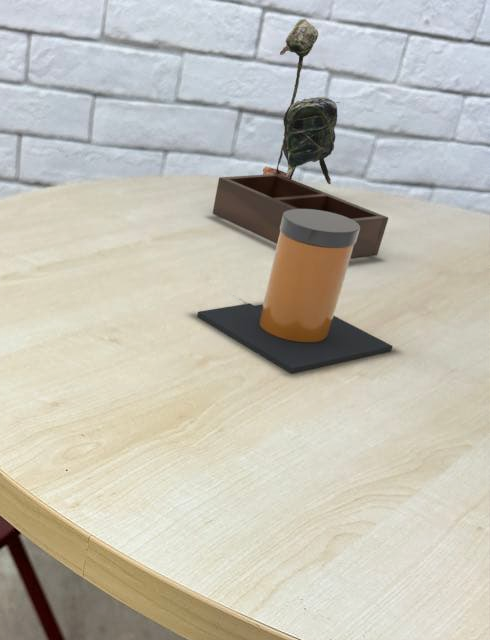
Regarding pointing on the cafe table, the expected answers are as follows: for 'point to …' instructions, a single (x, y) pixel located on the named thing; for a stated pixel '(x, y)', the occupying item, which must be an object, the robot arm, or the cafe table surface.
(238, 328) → the coaster
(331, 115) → the plant with pod
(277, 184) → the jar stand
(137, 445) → the cafe table surface
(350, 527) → the cafe table surface
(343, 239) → the jar
